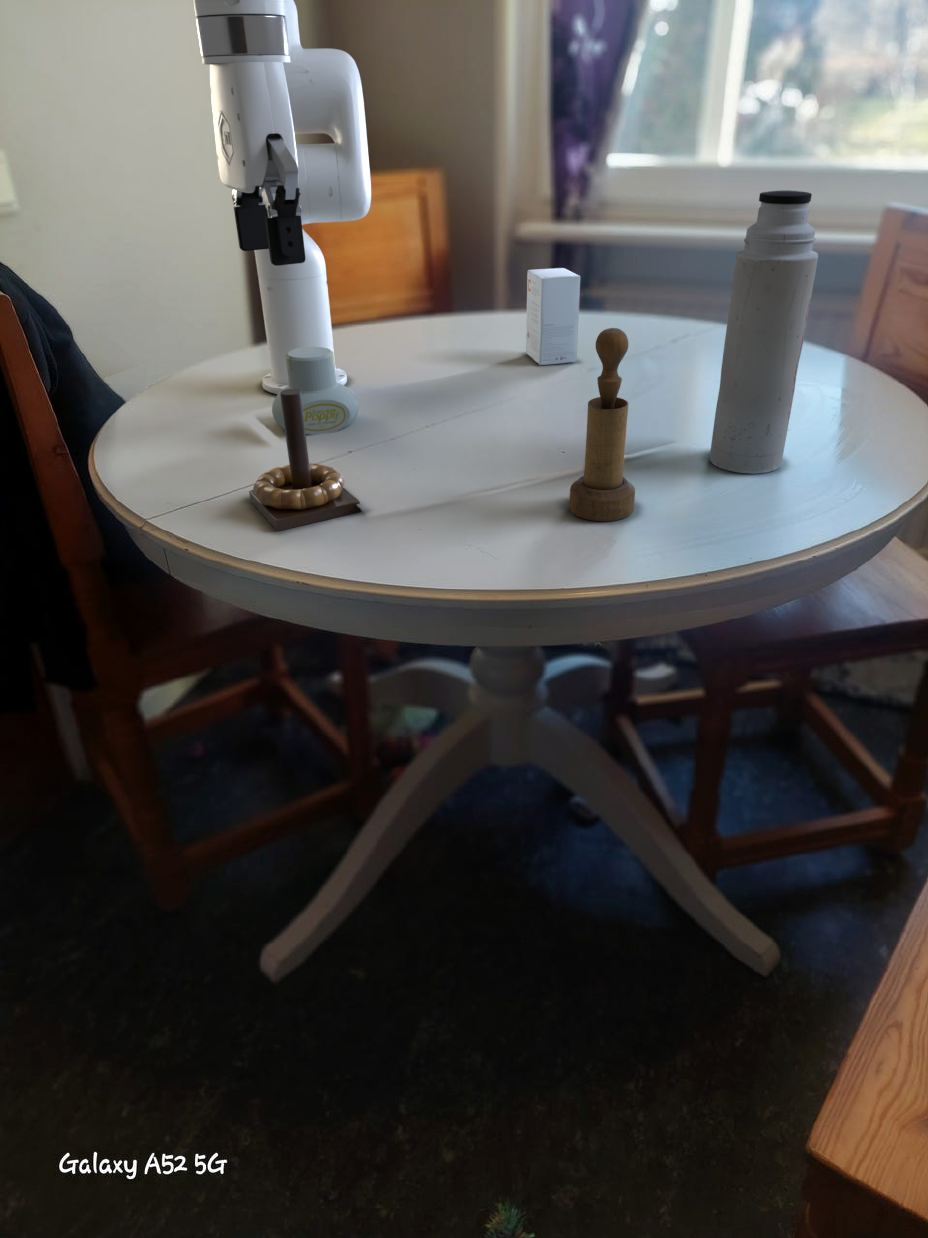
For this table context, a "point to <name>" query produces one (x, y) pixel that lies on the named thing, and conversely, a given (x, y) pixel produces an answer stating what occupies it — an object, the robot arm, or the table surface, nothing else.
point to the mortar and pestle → (605, 442)
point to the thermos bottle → (765, 335)
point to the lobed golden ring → (298, 499)
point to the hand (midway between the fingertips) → (271, 256)
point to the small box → (552, 315)
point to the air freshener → (318, 392)
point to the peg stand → (301, 474)
